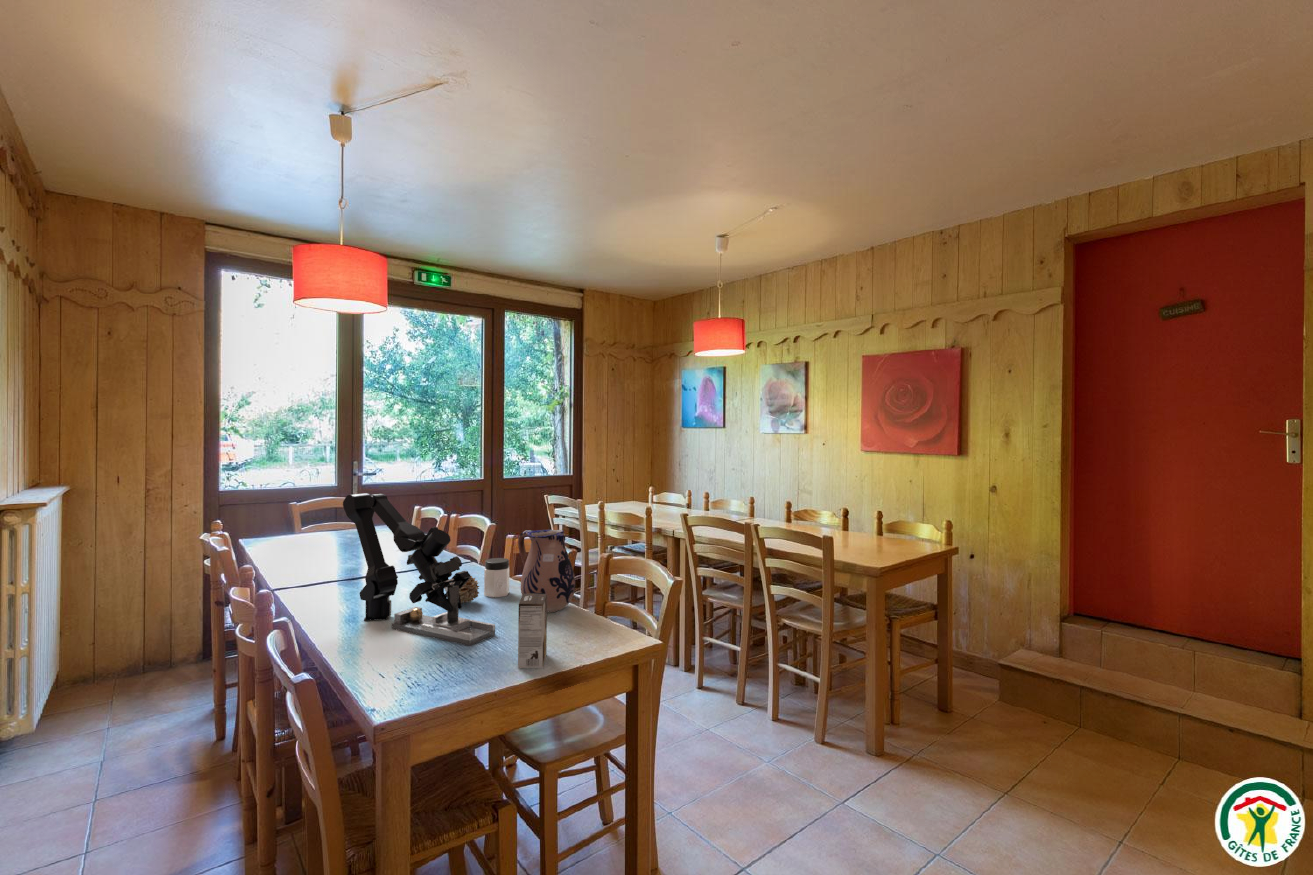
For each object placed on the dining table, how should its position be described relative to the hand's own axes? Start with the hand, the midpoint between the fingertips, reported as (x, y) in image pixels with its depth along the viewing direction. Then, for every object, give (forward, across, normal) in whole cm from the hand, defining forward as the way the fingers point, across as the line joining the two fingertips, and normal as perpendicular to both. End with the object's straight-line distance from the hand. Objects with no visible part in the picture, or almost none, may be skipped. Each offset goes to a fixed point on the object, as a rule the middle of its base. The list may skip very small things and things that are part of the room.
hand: (456, 609), depth 173 cm
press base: (+1, 0, +9) cm, 9 cm away
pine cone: (-12, +25, +22) cm, 36 cm away
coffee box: (+27, -6, -17) cm, 32 cm away
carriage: (+2, 0, +5) cm, 6 cm away
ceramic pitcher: (+10, +32, +1) cm, 33 cm away
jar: (-8, +38, +18) cm, 43 cm away
